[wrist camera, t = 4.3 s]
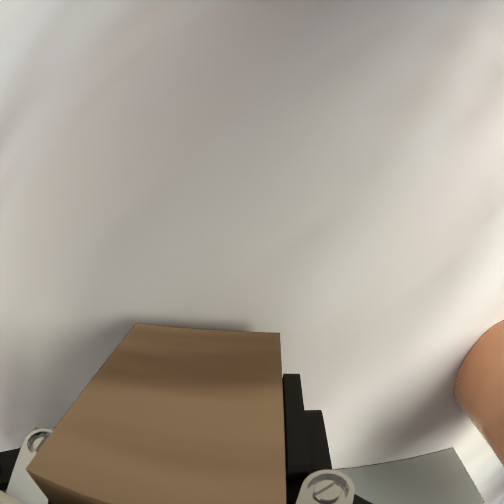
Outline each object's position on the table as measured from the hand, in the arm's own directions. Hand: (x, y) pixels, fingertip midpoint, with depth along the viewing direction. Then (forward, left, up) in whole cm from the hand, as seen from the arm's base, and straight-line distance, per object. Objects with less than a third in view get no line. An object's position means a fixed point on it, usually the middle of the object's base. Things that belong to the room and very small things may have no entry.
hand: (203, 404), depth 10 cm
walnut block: (0, 0, -1) cm, 1 cm away
